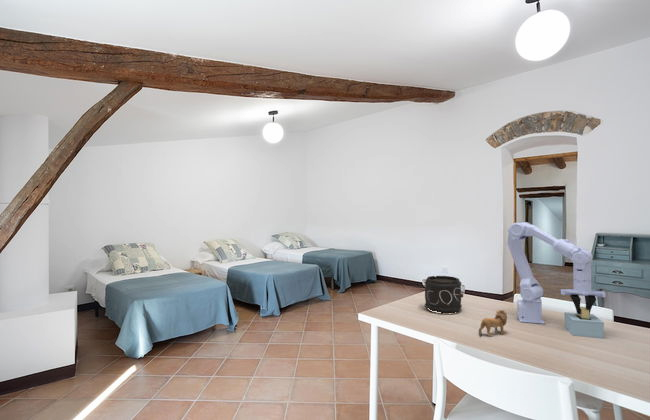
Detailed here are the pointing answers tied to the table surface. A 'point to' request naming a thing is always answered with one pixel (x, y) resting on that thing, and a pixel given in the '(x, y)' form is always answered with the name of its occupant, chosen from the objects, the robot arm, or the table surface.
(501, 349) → the table surface
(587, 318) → the tan rectangular block
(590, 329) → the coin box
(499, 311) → the lion figurine
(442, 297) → the black lettered canister
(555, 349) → the table surface
